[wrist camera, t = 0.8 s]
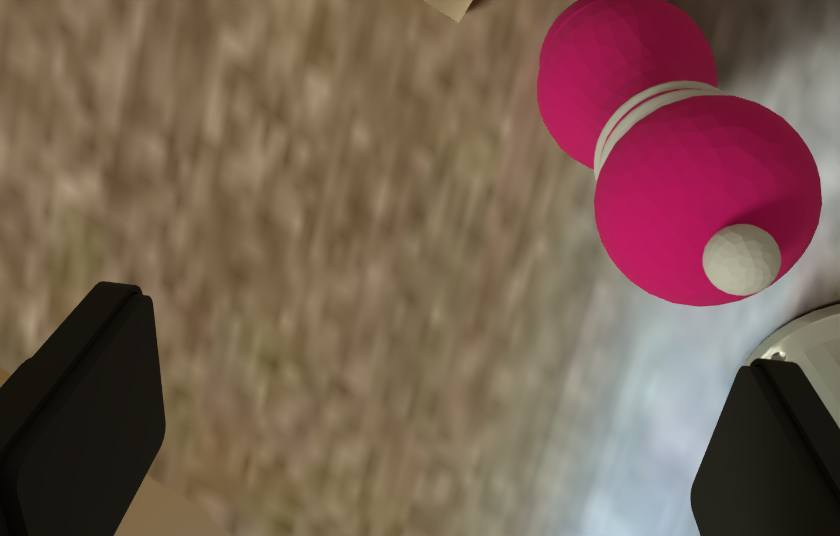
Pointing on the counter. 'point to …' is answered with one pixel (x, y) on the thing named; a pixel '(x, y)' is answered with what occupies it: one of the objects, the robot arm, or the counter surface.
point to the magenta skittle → (675, 154)
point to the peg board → (451, 7)
